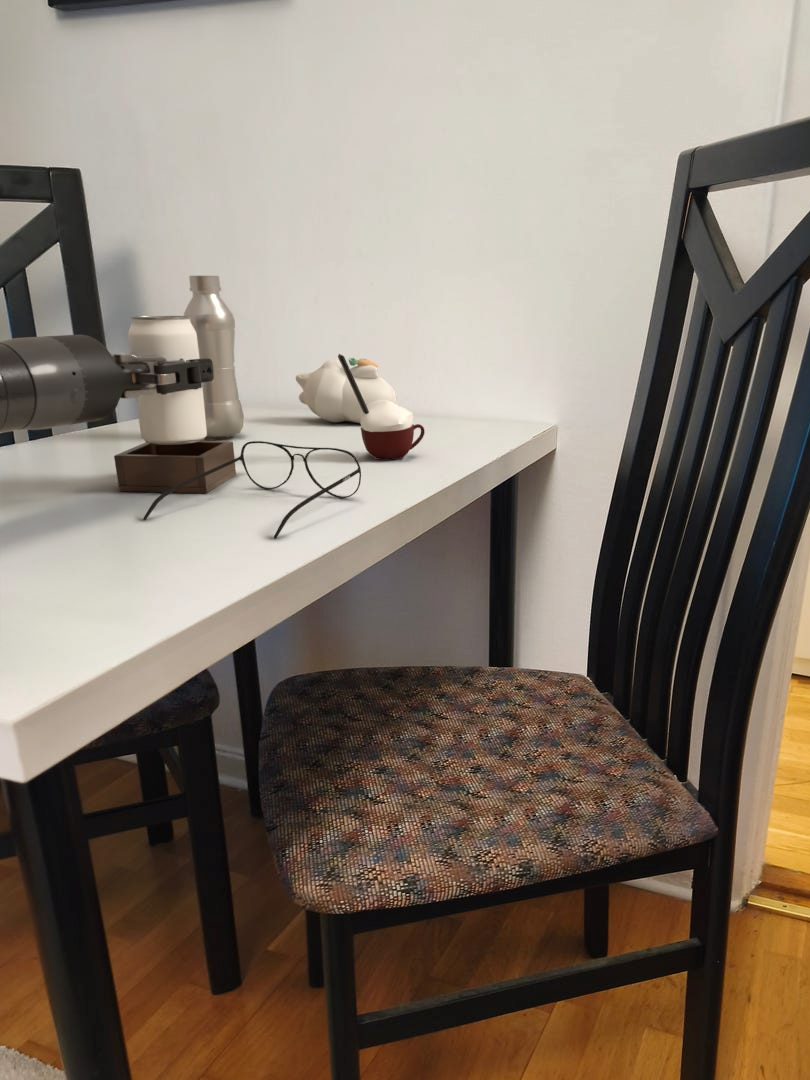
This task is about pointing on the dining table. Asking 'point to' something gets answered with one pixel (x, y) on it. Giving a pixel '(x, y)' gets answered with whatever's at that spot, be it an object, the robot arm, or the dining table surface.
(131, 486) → the tray
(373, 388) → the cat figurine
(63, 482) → the dining table surface
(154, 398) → the can
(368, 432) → the cocoa
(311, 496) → the glasses
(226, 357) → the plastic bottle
